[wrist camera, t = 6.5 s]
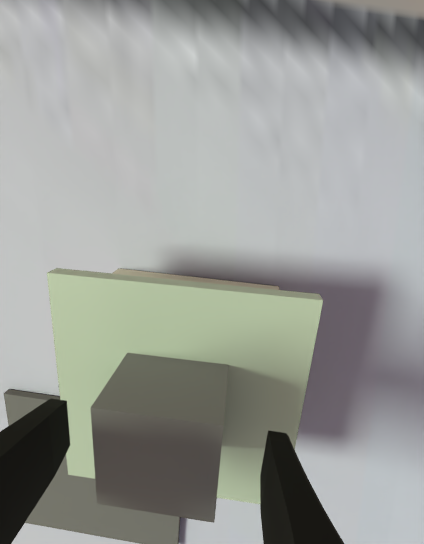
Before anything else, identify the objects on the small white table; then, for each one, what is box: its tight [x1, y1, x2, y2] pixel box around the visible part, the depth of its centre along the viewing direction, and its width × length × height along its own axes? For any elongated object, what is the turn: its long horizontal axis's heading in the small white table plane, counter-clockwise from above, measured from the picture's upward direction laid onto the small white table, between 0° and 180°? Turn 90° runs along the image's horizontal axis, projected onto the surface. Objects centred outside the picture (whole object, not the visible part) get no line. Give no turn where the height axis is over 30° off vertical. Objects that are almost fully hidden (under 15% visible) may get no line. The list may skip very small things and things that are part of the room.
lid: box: [47, 268, 323, 522], centre depth 11 cm, size 10×10×4 cm
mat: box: [4, 389, 180, 544], centre depth 20 cm, size 11×11×1 cm
